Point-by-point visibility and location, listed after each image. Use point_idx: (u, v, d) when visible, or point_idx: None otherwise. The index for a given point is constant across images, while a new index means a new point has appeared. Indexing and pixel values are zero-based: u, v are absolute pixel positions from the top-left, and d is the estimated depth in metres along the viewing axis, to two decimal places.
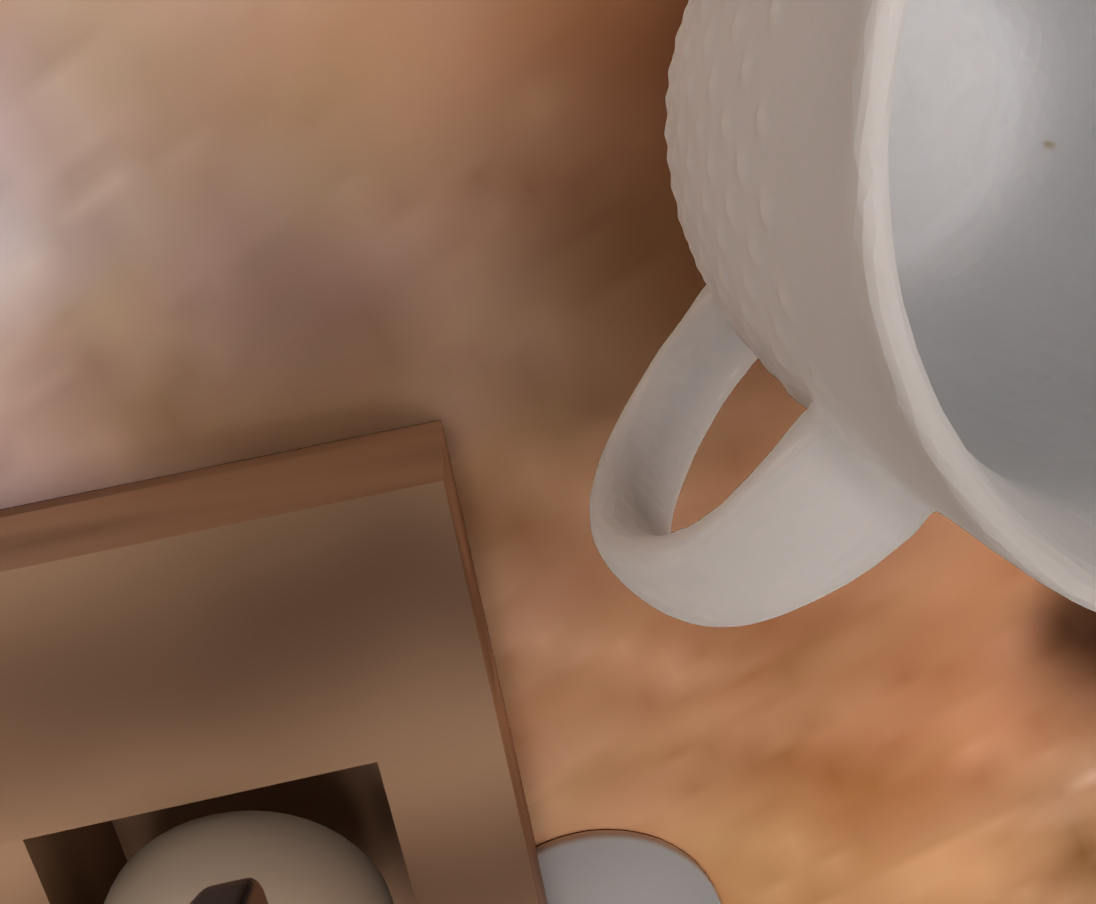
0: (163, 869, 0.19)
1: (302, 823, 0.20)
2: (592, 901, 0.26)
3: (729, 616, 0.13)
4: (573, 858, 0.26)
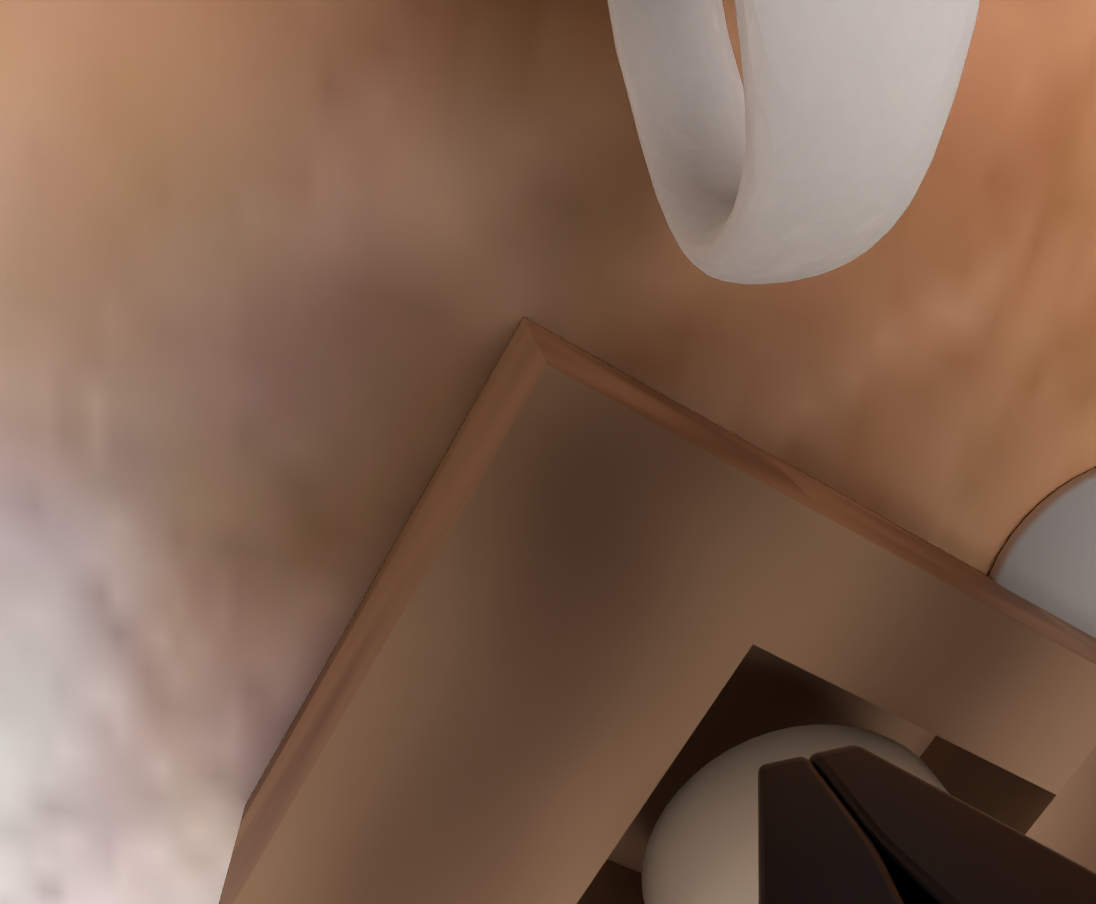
0: (666, 884, 0.17)
1: (745, 747, 0.18)
2: (1089, 574, 0.22)
3: (885, 197, 0.09)
4: (1032, 555, 0.21)
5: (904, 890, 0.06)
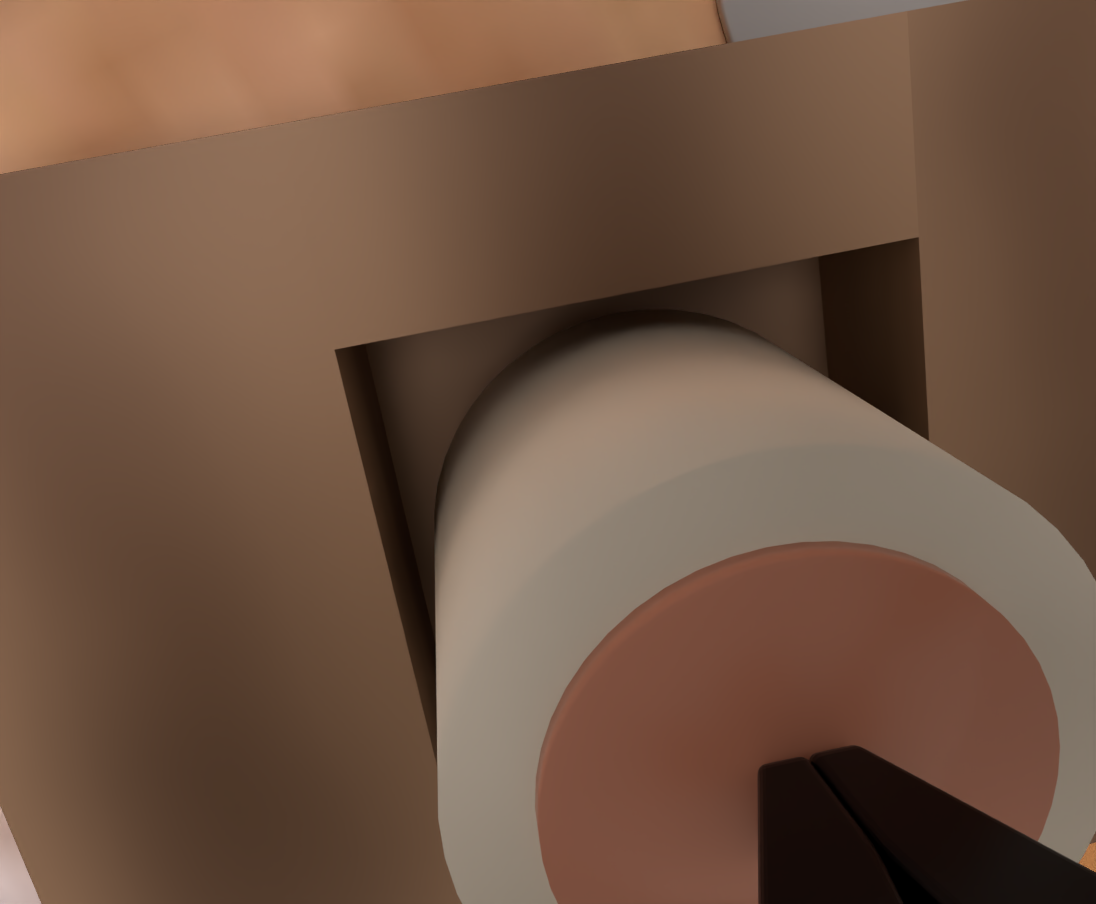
0: None
1: (452, 443, 0.13)
2: None
3: None
4: None
5: (904, 890, 0.06)
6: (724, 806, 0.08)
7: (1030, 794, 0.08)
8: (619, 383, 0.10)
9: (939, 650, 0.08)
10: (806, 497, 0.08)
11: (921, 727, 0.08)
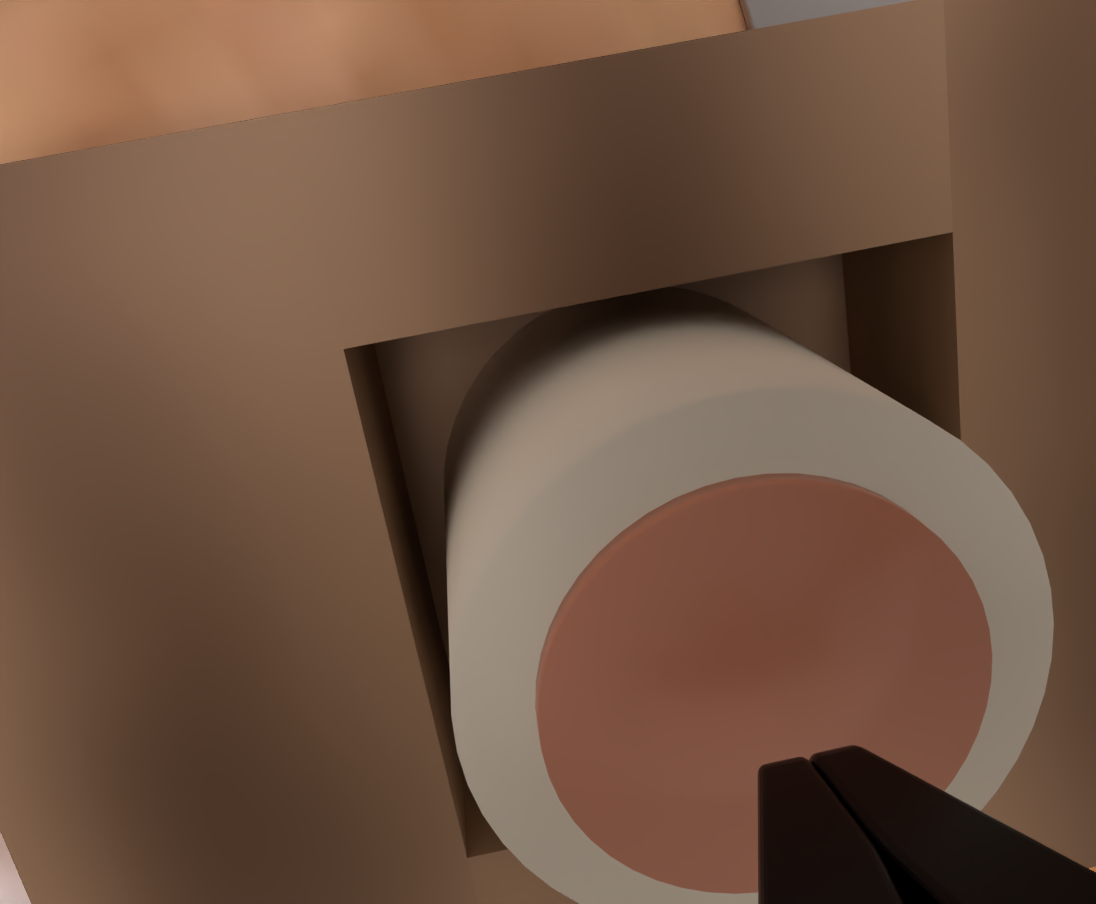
0: None
1: (461, 408, 0.15)
2: None
3: None
4: None
5: (904, 890, 0.06)
6: (700, 706, 0.09)
7: (967, 698, 0.10)
8: (611, 347, 0.11)
9: (885, 568, 0.09)
10: (769, 432, 0.09)
11: (870, 636, 0.09)
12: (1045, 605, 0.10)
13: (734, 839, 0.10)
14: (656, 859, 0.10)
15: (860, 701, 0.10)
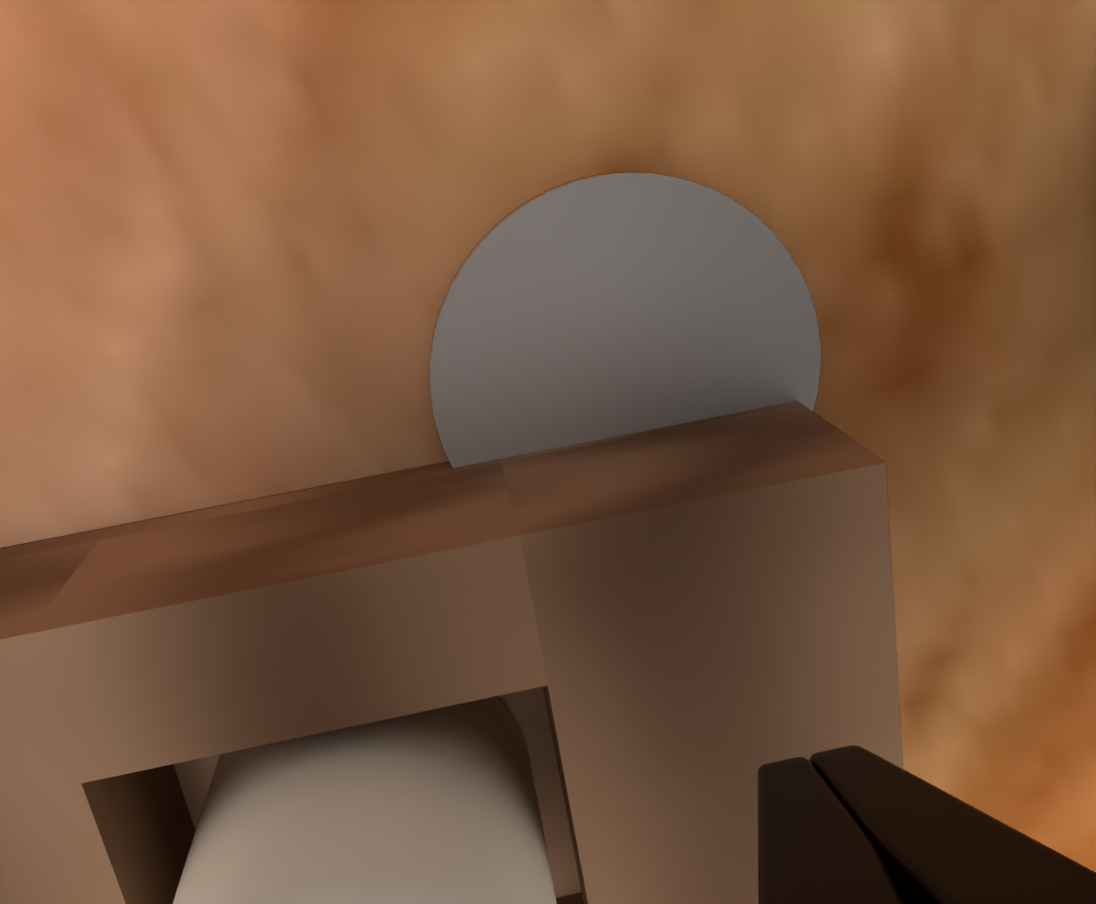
0: None
1: None
2: (537, 389, 0.18)
3: None
4: (458, 417, 0.18)
5: (904, 890, 0.06)
6: None
7: None
8: (290, 771, 0.15)
9: None
10: None
11: None
12: None
13: None
14: None
15: None
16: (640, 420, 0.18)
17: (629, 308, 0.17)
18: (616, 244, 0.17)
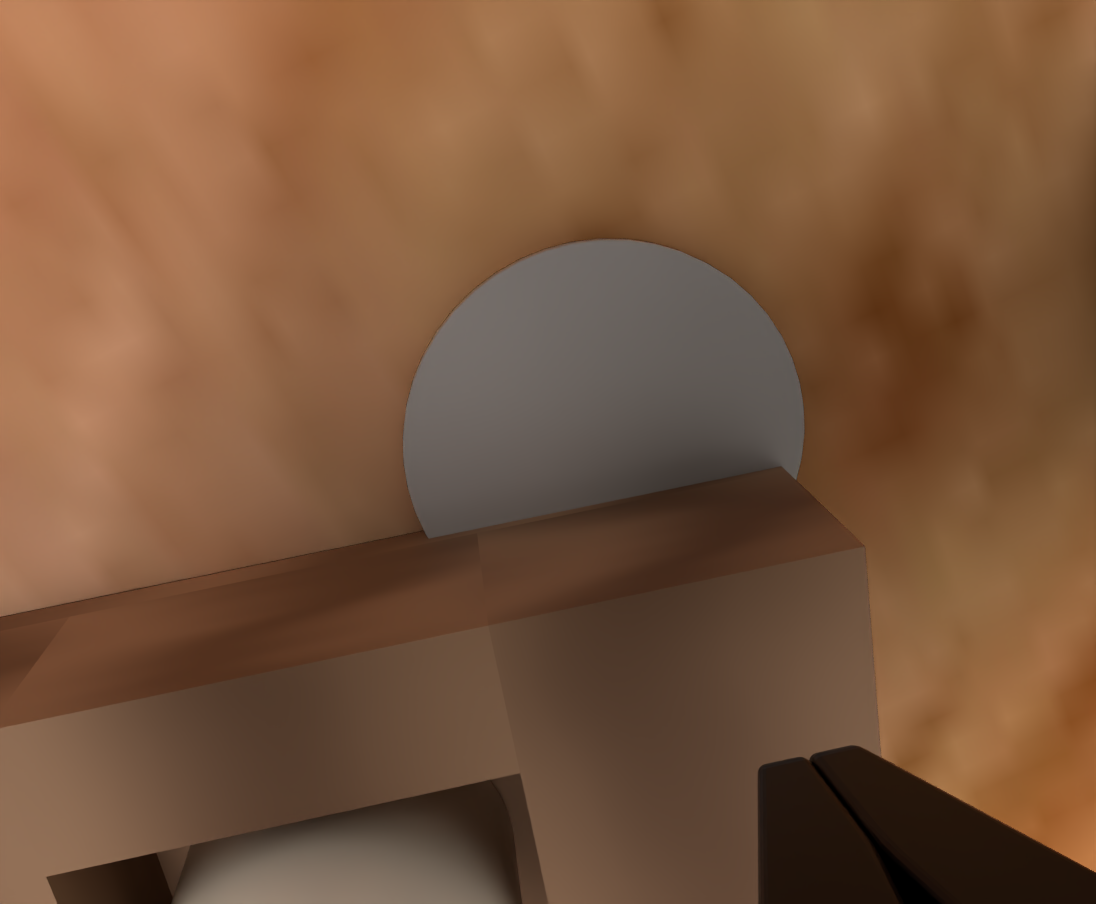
0: None
1: None
2: (513, 459, 0.17)
3: None
4: (433, 488, 0.17)
5: (904, 890, 0.06)
6: None
7: None
8: (258, 861, 0.15)
9: None
10: None
11: None
12: None
13: None
14: None
15: None
16: (619, 488, 0.18)
17: (606, 376, 0.17)
18: (592, 311, 0.17)
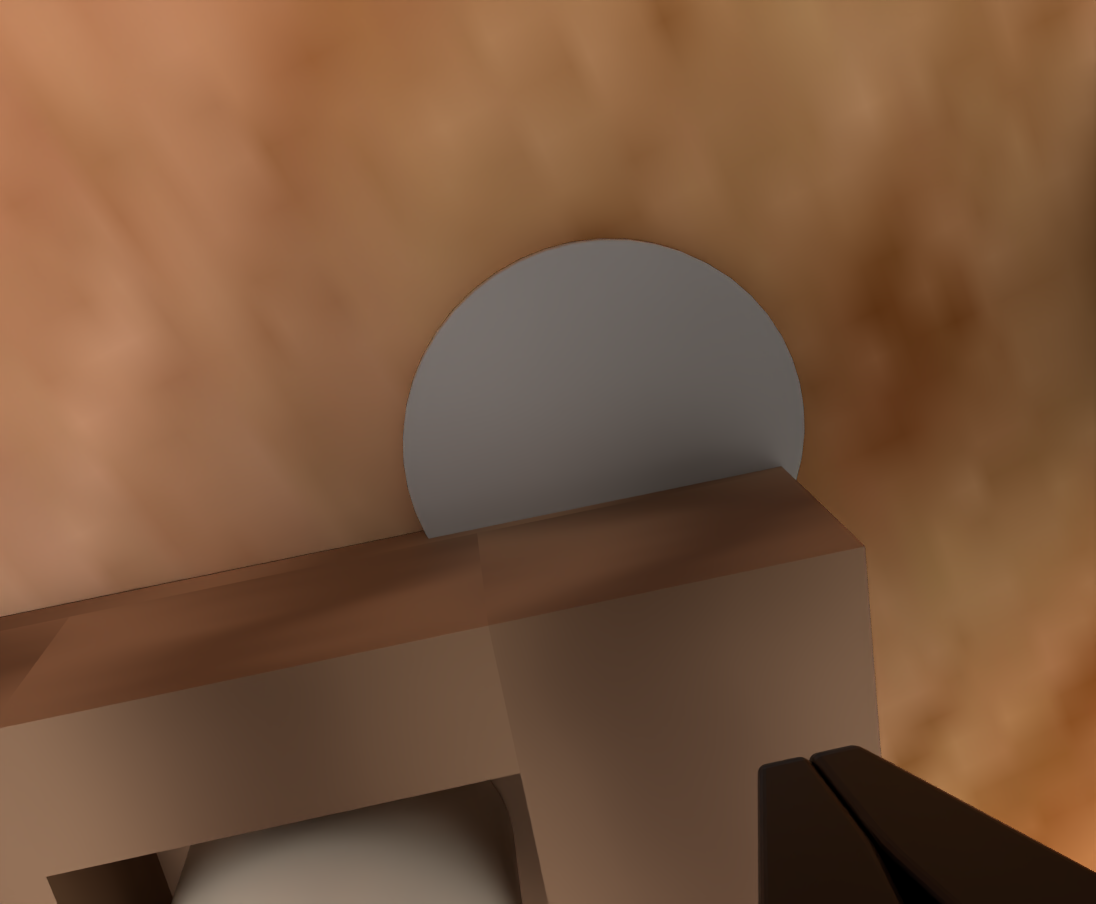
0: None
1: None
2: (513, 459, 0.17)
3: None
4: (433, 488, 0.17)
5: (904, 890, 0.06)
6: None
7: None
8: (258, 861, 0.15)
9: None
10: None
11: None
12: None
13: None
14: None
15: None
16: (619, 488, 0.18)
17: (606, 376, 0.17)
18: (592, 311, 0.17)
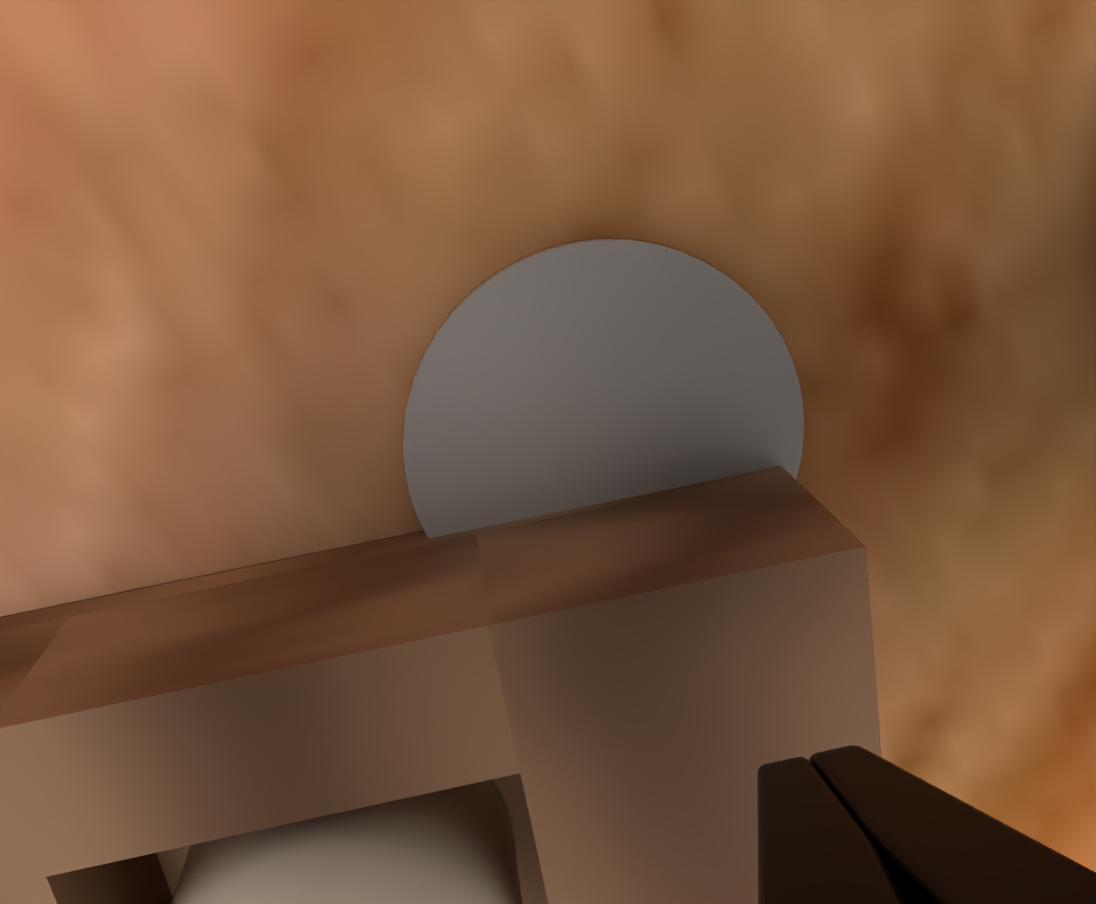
0: None
1: None
2: (513, 459, 0.17)
3: None
4: (433, 488, 0.17)
5: (904, 890, 0.06)
6: None
7: None
8: (258, 861, 0.15)
9: None
10: None
11: None
12: None
13: None
14: None
15: None
16: (619, 488, 0.18)
17: (606, 376, 0.17)
18: (592, 311, 0.17)
